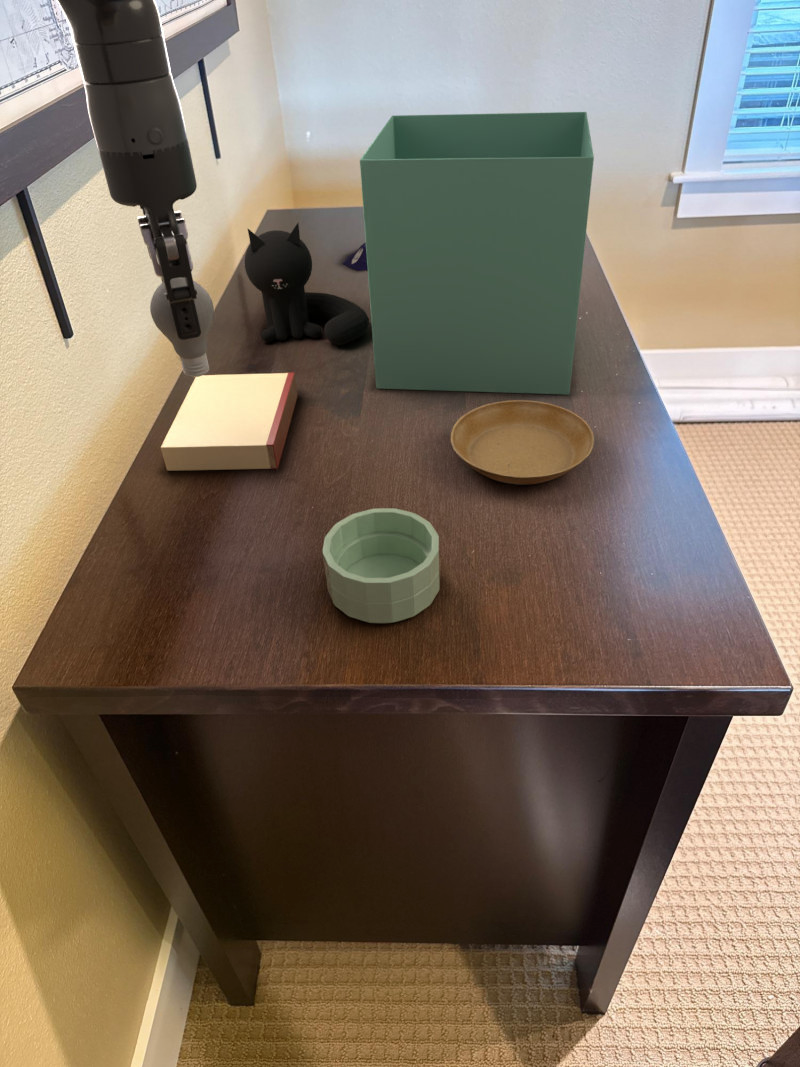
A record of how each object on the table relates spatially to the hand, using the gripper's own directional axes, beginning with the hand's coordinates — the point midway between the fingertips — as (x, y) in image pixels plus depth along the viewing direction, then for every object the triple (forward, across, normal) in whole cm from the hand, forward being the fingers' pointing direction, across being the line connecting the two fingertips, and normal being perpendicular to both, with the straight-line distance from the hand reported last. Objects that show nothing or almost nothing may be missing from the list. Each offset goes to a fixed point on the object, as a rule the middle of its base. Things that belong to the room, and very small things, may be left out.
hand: (185, 323), depth 76 cm
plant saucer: (+15, +15, +30) cm, 37 cm away
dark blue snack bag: (+15, -49, +37) cm, 63 cm away
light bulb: (+6, 0, 0) cm, 6 cm away
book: (+15, -3, +3) cm, 15 cm away
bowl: (+15, +28, +10) cm, 34 cm away
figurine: (+15, -25, +18) cm, 34 cm away
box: (+15, -9, +36) cm, 40 cm away
